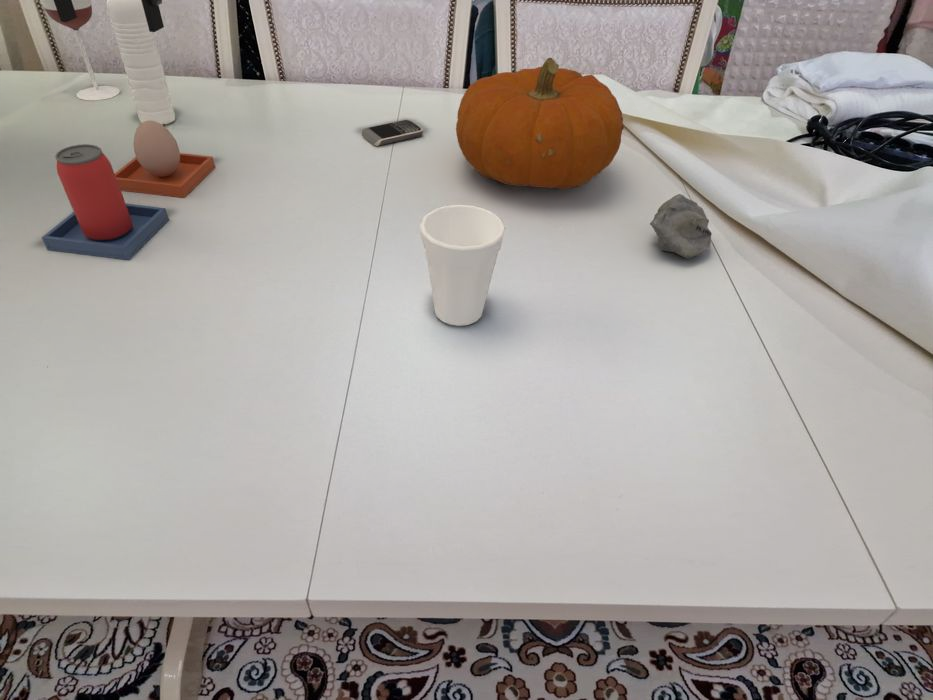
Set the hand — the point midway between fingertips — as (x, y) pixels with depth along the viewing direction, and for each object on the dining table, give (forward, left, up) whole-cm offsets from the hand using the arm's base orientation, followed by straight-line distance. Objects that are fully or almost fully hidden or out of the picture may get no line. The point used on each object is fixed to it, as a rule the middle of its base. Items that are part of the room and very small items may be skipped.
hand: (112, 24), depth 90 cm
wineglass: (-29, +29, -23) cm, 47 cm away
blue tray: (+4, -21, -23) cm, 31 cm away
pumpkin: (+64, +13, -23) cm, 69 cm away
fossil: (+87, -7, -23) cm, 90 cm away
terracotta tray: (+3, -3, -23) cm, 23 cm away
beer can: (+4, -21, -22) cm, 31 cm away
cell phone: (+36, +23, -23) cm, 49 cm away
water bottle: (-9, +19, -23) cm, 31 cm away
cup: (+57, -29, -23) cm, 67 cm away
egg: (+3, -3, -23) cm, 23 cm away
